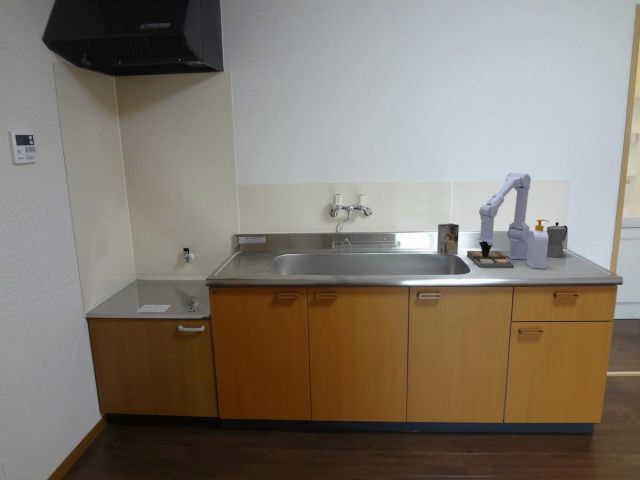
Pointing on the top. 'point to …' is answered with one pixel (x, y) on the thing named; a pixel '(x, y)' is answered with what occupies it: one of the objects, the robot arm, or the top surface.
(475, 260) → the box
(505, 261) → the terracotta tile
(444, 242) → the coffee box
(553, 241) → the coffeepot
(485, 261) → the cream tile
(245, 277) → the top surface
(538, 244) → the soap bottle
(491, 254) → the walnut plate
